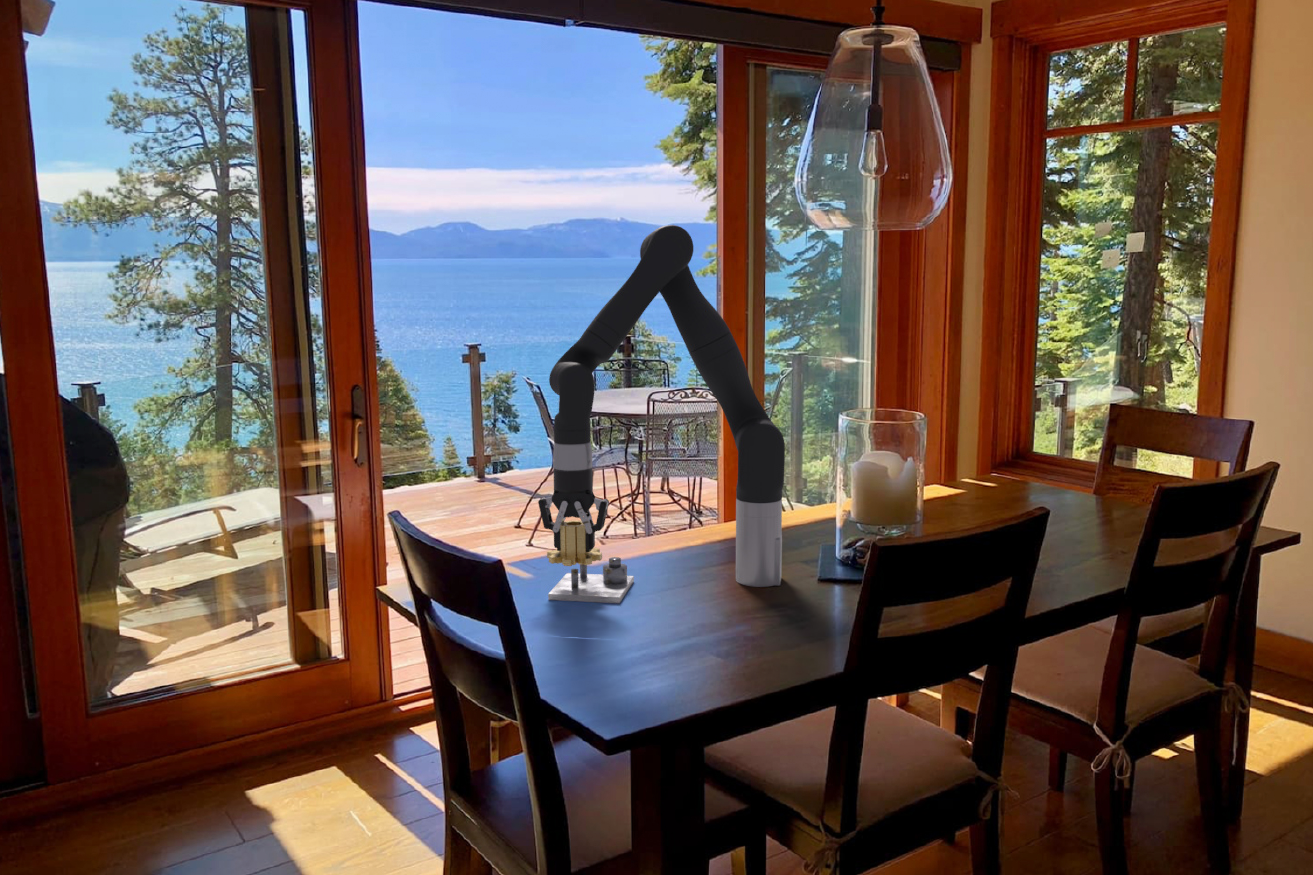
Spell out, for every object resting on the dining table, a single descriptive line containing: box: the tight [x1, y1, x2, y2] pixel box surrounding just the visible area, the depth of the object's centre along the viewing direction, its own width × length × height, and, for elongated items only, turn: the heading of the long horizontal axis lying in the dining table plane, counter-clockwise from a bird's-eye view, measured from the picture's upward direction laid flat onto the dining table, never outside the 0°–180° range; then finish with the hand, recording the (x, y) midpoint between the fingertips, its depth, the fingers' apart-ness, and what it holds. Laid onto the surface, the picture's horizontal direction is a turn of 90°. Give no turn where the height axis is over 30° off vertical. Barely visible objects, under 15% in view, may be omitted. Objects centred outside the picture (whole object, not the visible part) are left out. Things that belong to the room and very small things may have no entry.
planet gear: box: [546, 519, 603, 567], centre depth 189 cm, size 11×11×7 cm
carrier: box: [547, 556, 635, 604], centre depth 191 cm, size 14×14×6 cm
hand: (574, 550), depth 189 cm, fingers closed on planet gear, 5 cm apart
